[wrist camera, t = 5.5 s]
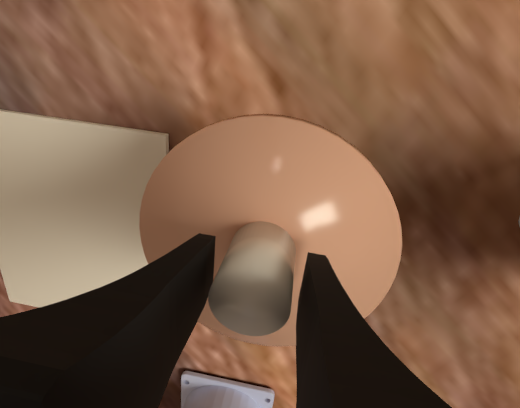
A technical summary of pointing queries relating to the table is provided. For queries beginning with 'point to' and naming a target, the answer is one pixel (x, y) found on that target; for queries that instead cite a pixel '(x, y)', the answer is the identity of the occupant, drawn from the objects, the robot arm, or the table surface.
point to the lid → (273, 219)
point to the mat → (70, 204)
